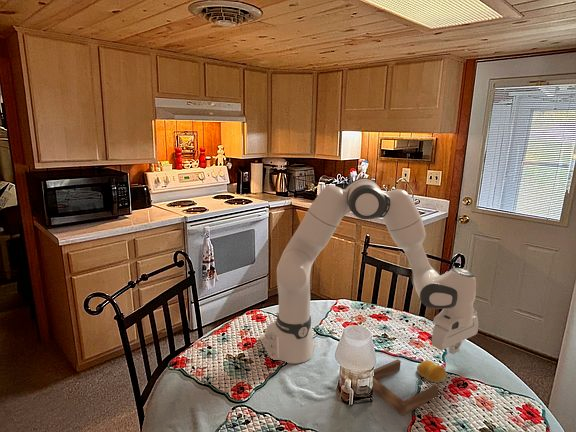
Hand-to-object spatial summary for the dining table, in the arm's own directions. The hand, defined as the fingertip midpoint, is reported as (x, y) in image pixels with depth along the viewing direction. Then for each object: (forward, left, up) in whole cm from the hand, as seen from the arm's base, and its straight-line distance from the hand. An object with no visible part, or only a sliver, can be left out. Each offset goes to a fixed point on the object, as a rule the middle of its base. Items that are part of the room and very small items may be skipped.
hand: (453, 352), depth 134 cm
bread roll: (0, -10, -6) cm, 12 cm away
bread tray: (0, -25, -5) cm, 25 cm away
